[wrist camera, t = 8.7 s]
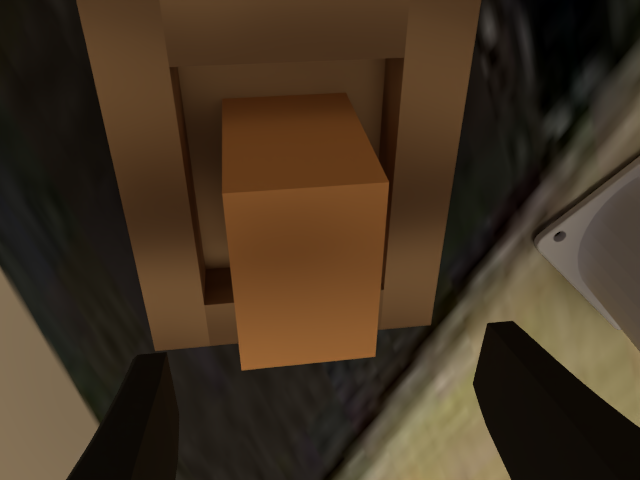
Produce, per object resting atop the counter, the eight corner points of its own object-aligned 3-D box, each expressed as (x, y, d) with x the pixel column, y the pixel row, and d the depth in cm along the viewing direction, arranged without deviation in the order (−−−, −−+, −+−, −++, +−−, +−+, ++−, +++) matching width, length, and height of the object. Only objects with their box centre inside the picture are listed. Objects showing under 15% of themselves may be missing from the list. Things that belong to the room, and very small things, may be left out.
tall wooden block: (222, 98, 18) (222, 193, 13) (346, 92, 19) (389, 182, 14) (237, 251, 22) (241, 370, 17) (341, 242, 22) (375, 356, 17)
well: (92, -30, 16) (73, -11, 14) (453, -38, 17) (484, -21, 15) (161, 306, 23) (155, 350, 21) (413, 284, 24) (430, 324, 22)
